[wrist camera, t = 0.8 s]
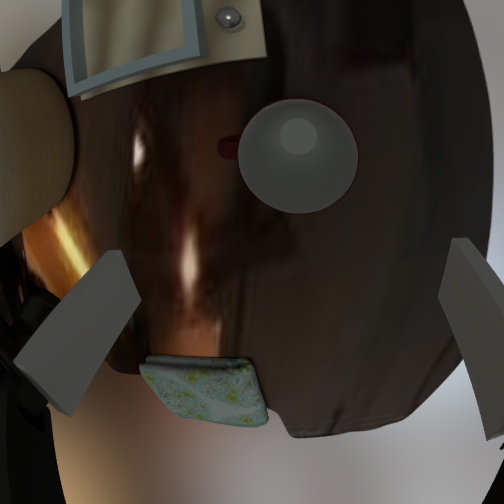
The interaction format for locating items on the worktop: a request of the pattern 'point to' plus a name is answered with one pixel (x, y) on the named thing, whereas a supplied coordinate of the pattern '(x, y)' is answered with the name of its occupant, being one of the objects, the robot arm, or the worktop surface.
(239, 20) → the peg
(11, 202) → the planter
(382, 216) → the worktop surface
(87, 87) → the bay
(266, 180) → the mug
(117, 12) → the board
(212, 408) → the towel
